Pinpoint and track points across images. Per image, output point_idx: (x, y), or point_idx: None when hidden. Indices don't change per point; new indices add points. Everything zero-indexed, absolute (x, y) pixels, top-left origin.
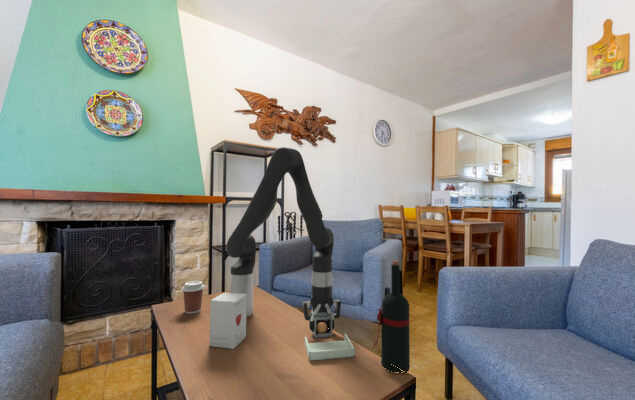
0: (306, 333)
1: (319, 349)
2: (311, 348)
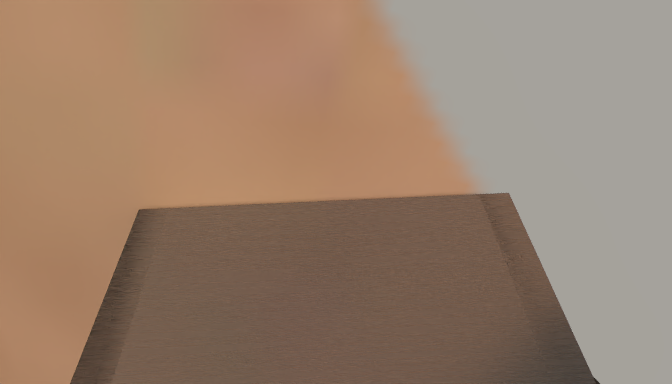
0: (41, 310)
1: None
2: None
